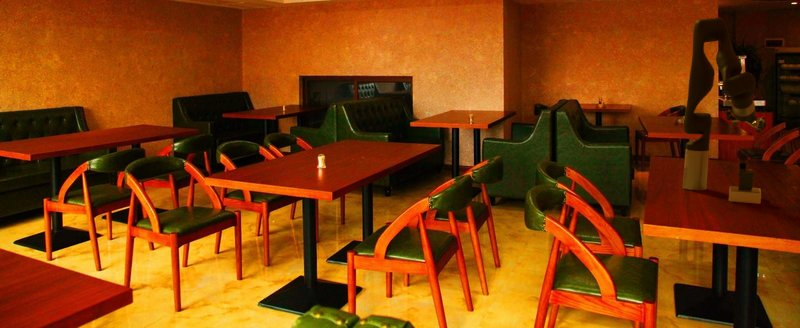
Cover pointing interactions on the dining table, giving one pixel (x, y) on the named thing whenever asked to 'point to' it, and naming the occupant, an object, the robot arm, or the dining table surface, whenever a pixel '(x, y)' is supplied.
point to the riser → (744, 195)
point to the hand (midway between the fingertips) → (747, 128)
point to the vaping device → (745, 176)
